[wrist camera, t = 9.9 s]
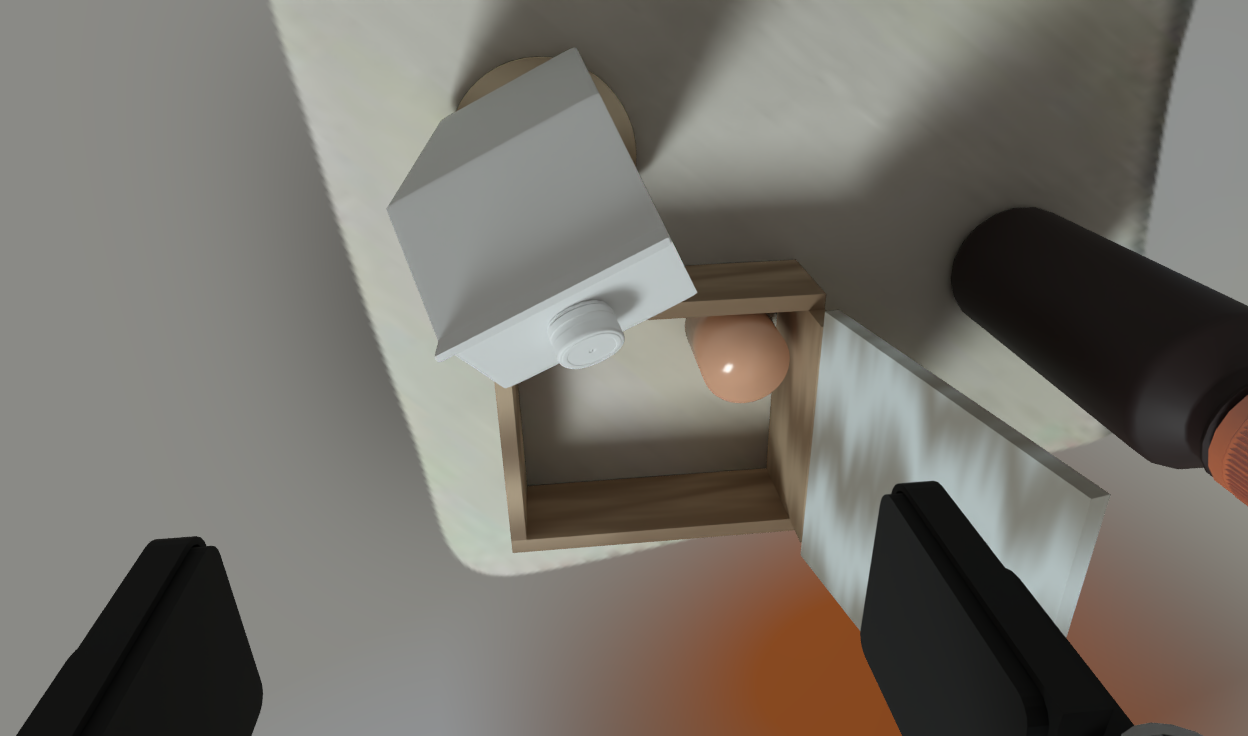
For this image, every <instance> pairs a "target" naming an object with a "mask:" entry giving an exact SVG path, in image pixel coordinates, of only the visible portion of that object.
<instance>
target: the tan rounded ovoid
mask: <svg viewBox="0 0 1248 736" xmlns="http://www.w3.org/2000/svg"><path fill="white" fill-rule="evenodd" d="M685 332H686V336H687V339H688V342H689V344H690V347H691V349H692V352H693V354H694V356H695V359H696V361H697V364H698V366H699V369H700V371H701V374H702V376H703V378H704V381H705V383H706V385H707V387H708V388H709V389H710V390H711V391H712V392H713V393H714V394H715V395H716V396H718V397H719V398H721V399H723V400H726V401H729V402H734V403H747V402H753V401H756V400H759V399H761V398H763V397H765V396H767V395H769V394H770V393H771V392H773V391H774V390H775V389H776V388H777V387H778V386H779V385H780V384H781V382H782V381H783V379H784V378H785V376H786V373H787V371H788V368H789V362H790V354H789V349H788V346H787V344H786V342H785V340H784V339H783V337H782V336H781V334H780V333H779V331H778V330H777V328H776V327H775V325H774V324H773V322H772V321H771V319H770V318H769V316H768V315H767V313H757V314H740V315H723V316H706V317H689V318H686V321H685Z"/></svg>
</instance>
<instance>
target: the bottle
mask: <svg viewBox="0 0 1248 736" xmlns="http://www.w3.org/2000/svg"><path fill="white" fill-rule="evenodd" d="M951 283H952V289H953V296H954V298H955V300H956V301H957V303H958V305H959V306H960V308H961V310H962V311H963V312H964V313H965V314H966V315H968V316H969V317H970V318H971V319H972V320H974V321H975V322H976V323H977V324H979V325H980V326H981V327H982V328H984V329H985V330H986V331H987V332H989V333H990V334H991V335H992V336H993V337H995V338H996V339H997V340H998V341H1000V342H1001V343H1002V344H1003V345H1005V346H1006V347H1007V348H1008V349H1010V350H1011V351H1012V352H1013V353H1015V354H1016V355H1017V356H1018V357H1019V358H1021V359H1022V360H1023V361H1024V362H1026V363H1027V364H1028V365H1029V366H1031V367H1032V368H1033V369H1034V370H1036V371H1037V372H1038V373H1039V374H1040V375H1042V376H1043V377H1044V378H1045V379H1047V380H1048V381H1049V382H1050V383H1052V384H1053V385H1054V386H1055V387H1057V388H1058V389H1059V390H1060V391H1061V392H1063V393H1064V394H1065V395H1066V396H1068V397H1069V398H1070V399H1071V400H1073V401H1074V402H1075V403H1076V404H1078V405H1079V406H1080V407H1081V408H1082V409H1084V410H1085V411H1086V412H1087V413H1089V414H1090V415H1091V416H1092V417H1094V418H1095V419H1096V420H1097V421H1099V422H1100V423H1101V424H1102V425H1104V426H1105V427H1106V428H1107V429H1108V430H1110V431H1111V432H1112V433H1113V434H1115V435H1116V436H1117V437H1118V438H1120V439H1121V440H1122V441H1123V442H1125V443H1126V444H1127V445H1128V446H1129V447H1131V448H1132V449H1133V450H1135V451H1136V452H1137V453H1139V454H1140V455H1141V456H1143V457H1144V458H1145V459H1147V460H1148V461H1150V462H1151V463H1155V464H1159V465H1163V466H1167V467H1171V468H1175V469H1189V468H1203V467H1204V469H1205V471H1206V472H1207V473H1208V474H1210V475H1211V476H1212V477H1213V478H1214V480H1215V481H1216V482H1218V483H1219V484H1220V485H1222V486H1223V487H1224V488H1225V489H1227V490H1228V491H1230V492H1231V493H1232V494H1233V495H1235V497H1236V498H1238V499H1239V500H1240V501H1242V502H1243V503H1244V504H1246V505H1247V506H1248V306H1247V305H1244V304H1243V303H1240V302H1238V301H1236V300H1234V299H1232V298H1230V297H1228V296H1226V295H1224V294H1222V293H1219V292H1217V291H1215V290H1213V289H1211V288H1209V287H1207V286H1204V285H1202V284H1201V283H1199V282H1196V281H1194V280H1192V279H1190V278H1188V277H1186V276H1183V275H1182V274H1180V273H1177V272H1175V271H1173V270H1171V269H1169V268H1167V267H1165V266H1163V265H1161V264H1159V263H1157V262H1154V261H1152V260H1150V259H1148V258H1146V257H1144V256H1142V255H1140V254H1138V253H1136V252H1134V251H1131V250H1129V249H1127V248H1125V247H1123V246H1121V245H1119V244H1117V243H1115V242H1113V241H1110V240H1108V239H1106V238H1104V237H1102V236H1100V235H1098V234H1096V233H1094V232H1092V231H1090V230H1087V229H1085V228H1083V227H1081V226H1079V225H1077V224H1075V223H1073V222H1071V221H1069V220H1066V219H1064V218H1062V217H1060V216H1058V215H1056V214H1054V213H1051V212H1048V211H1045V210H1042V209H1039V208H1036V207H1030V208H1013V209H1010V210H1007V211H1004V212H1001V213H999V214H996V215H994V216H992V217H991V218H989V219H988V220H986V221H985V222H983V223H982V224H980V225H979V226H978V227H977V228H976V229H975V230H974V231H973V232H972V233H971V234H970V235H969V237H968V238H967V239H966V240H965V241H964V242H963V244H962V246H961V248H960V250H959V252H958V254H957V256H956V258H955V260H954V264H953V270H952V275H951Z"/></svg>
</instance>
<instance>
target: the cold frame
mask: <svg viewBox="0 0 1248 736" xmlns="http://www.w3.org/2000/svg"><path fill="white" fill-rule="evenodd" d="M684 267H685V269H686V271H687V273H688V275H689V277H690V279H691V281H692V283H693V285H694V287H695V289H696V291H697V293H696V294H695V295H694V296H692V297H690V298H688V299H686V300H684V301H682V302H680V303H678V304H677V305H675V306H673V307H671V308H669V309H667V310H665V311H663V312H661V313H659V314H657V315H655V316H653V317H651V318H649V319H647V320H655V319H672V318H689V317H706V316H723V315H740V314H757V313H774V312H777V324H776V328H777V330H778V331H779V333H780V334H781V336H782V337H783V339H784V340H785V342H786V344H787V346H788V349H789V354H790V362H789V368H788V371H787V373H786V376H785V378H784V379H783V381H782V382H781V384H780V385H779V386H778V387H777V388H776V389H775V390H774V391H773V392H772V394H771V408H770V422H769V437H768V451H767V465H766V468H762V469H748V470H735V471H721V472H708V473H695V474H681V475H668V476H654V477H641V478H627V479H614V480H601V481H587V482H574V483H560V484H547V485H533V486H527V476H526V465H525V454H524V443H523V433H522V422H521V411H520V400H519V389H518V384H516V385H513V386H511V387H508V388H503V387H502V386H500V385H499V384H497V383H496V382H495V392H496V401H497V410H498V420H499V429H500V438H501V448H502V457H503V466H504V476H505V485H506V494H507V504H508V513H509V522H510V532H511V541H512V550H513V553H518V552H531V551H543V550H555V549H568V548H580V547H592V546H605V545H617V544H630V543H642V542H654V541H667V540H679V539H691V538H704V537H716V536H728V535H741V534H753V533H766V532H778V531H790V530H795V532H796V534H797V536H798V538H799V540H800V542H802V547H801V556H802V557H803V559H804V560H805V561H806V563H807V564H808V565H809V566H810V568H811V569H812V570H813V571H814V573H815V574H816V575H817V577H818V578H819V579H820V580H821V582H822V583H823V584H824V585H825V587H826V588H827V589H828V591H829V592H830V593H831V594H832V596H833V597H834V598H835V599H836V601H837V602H838V603H839V604H840V606H841V607H842V608H843V610H844V611H845V612H846V613H847V615H848V616H849V617H850V618H851V620H852V621H853V622H854V624H855V625H856V626H857V627H858V629H859V630H860V631H861V623H862V617H863V610H864V604H865V597H866V591H867V584H868V578H869V572H870V565H871V559H872V552H873V546H874V539H875V533H876V526H877V520H878V514H879V507H880V502H881V498H882V497H883V495H885V494H891V493H892V489H893V487H894V486H895V485H896V484H898V483H910V482H923V481H936V482H939V483H940V484H941V485H942V486H943V488H944V489H945V490H946V491H947V493H948V494H949V495H950V497H951V498H952V499H953V501H954V502H955V503H956V504H957V506H958V507H959V508H960V510H961V511H962V512H963V514H964V515H965V516H966V517H967V519H968V520H969V521H970V523H971V524H972V525H973V527H974V528H975V529H976V530H977V532H978V533H979V534H980V536H981V537H982V538H983V540H984V541H985V542H986V543H987V545H988V546H989V547H990V549H991V550H992V551H993V553H994V554H995V555H996V556H997V558H998V559H999V560H1000V562H1001V563H1002V564H1003V566H1004V567H1005V568H1007V569H1009V570H1011V571H1013V572H1014V573H1015V574H1016V575H1017V576H1018V577H1019V578H1020V580H1021V581H1022V582H1023V583H1024V585H1025V586H1026V587H1027V589H1028V590H1029V591H1030V592H1031V594H1032V595H1033V596H1034V598H1035V599H1036V600H1037V601H1038V603H1039V604H1040V605H1041V606H1042V608H1043V609H1044V610H1045V612H1046V613H1047V614H1048V615H1049V617H1050V618H1051V619H1052V621H1053V622H1054V623H1055V624H1056V626H1057V627H1058V628H1059V630H1060V631H1061V632H1062V633H1063V635H1064V636H1065V637H1066V636H1067V633H1068V630H1069V627H1070V624H1071V620H1072V617H1073V614H1074V610H1075V607H1076V604H1077V601H1078V598H1079V595H1080V591H1081V588H1082V585H1083V582H1084V578H1085V575H1086V572H1087V569H1088V565H1089V562H1090V559H1091V556H1092V553H1093V549H1094V546H1095V543H1096V540H1097V536H1098V533H1099V530H1100V527H1101V523H1102V520H1103V517H1104V514H1105V510H1106V507H1107V504H1108V501H1109V498H1110V494H1109V493H1108V492H1106V491H1105V490H1103V489H1102V488H1100V487H1099V486H1098V485H1096V484H1094V483H1093V482H1092V481H1090V480H1089V479H1087V478H1086V477H1084V476H1083V475H1081V474H1080V473H1078V472H1077V471H1075V470H1074V469H1072V468H1071V467H1070V466H1068V465H1067V464H1065V463H1064V462H1062V461H1061V460H1059V459H1058V458H1056V457H1055V456H1053V455H1052V454H1050V453H1049V452H1047V451H1046V450H1045V449H1043V448H1042V447H1040V446H1039V445H1037V444H1036V443H1034V442H1033V441H1031V440H1030V439H1028V438H1027V437H1025V436H1024V435H1022V434H1021V433H1020V432H1018V431H1017V430H1015V429H1014V428H1012V427H1011V426H1009V425H1008V424H1006V423H1005V422H1003V421H1002V420H1000V419H999V418H997V417H996V416H995V415H993V414H992V413H990V412H989V411H987V410H986V409H984V408H983V407H981V406H980V405H978V404H977V403H975V402H974V401H972V400H971V399H970V398H968V397H967V396H965V395H964V394H962V393H961V392H959V391H958V390H956V389H955V388H953V387H952V386H950V385H949V384H947V383H946V382H945V381H943V380H942V379H940V378H939V377H937V376H936V375H934V374H933V373H931V372H930V371H928V370H927V369H925V368H924V367H922V366H921V365H920V364H918V363H917V362H915V361H914V360H912V359H911V358H909V357H908V356H906V355H905V354H903V353H902V352H900V351H899V350H897V349H896V348H894V347H893V346H892V345H890V344H889V343H887V342H886V341H884V340H883V339H881V338H880V337H878V336H877V335H875V334H874V333H872V332H871V331H869V330H868V329H867V328H865V327H864V326H862V325H861V324H859V323H858V322H856V321H855V320H853V319H852V318H850V317H849V316H847V315H846V314H844V313H843V312H842V311H840V310H833V311H825V301H826V293H825V292H824V291H823V290H822V289H821V288H820V286H819V285H818V284H817V283H816V282H815V281H814V280H813V279H812V277H811V276H810V275H809V274H808V273H807V272H806V271H805V270H804V268H803V267H802V266H801V265H800V264H799V263H798V262H797V261H796V260H780V261H761V262H743V263H724V264H706V265H687V266H684Z"/></svg>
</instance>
